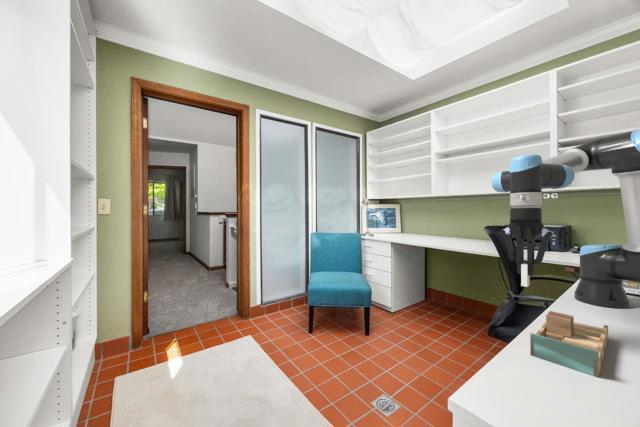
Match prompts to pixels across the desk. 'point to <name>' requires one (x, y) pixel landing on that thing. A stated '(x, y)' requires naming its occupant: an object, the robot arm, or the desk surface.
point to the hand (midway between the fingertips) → (525, 285)
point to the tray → (572, 347)
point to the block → (560, 323)
